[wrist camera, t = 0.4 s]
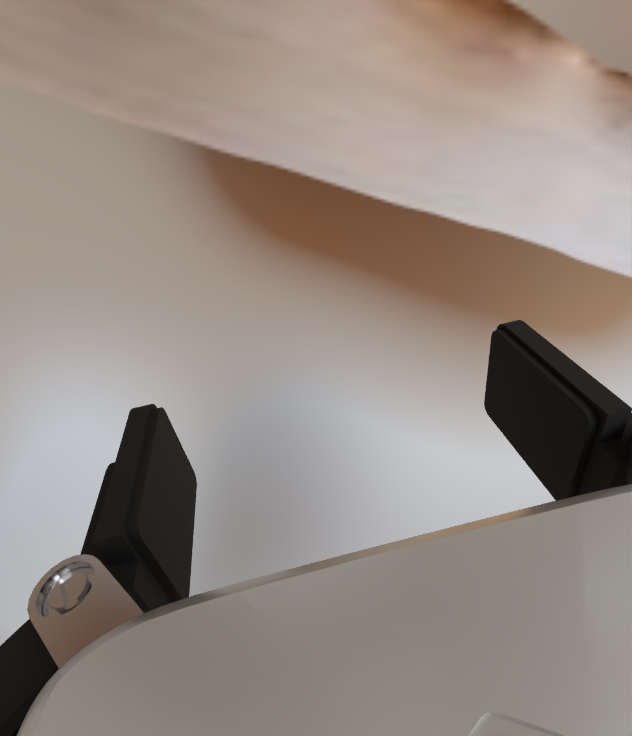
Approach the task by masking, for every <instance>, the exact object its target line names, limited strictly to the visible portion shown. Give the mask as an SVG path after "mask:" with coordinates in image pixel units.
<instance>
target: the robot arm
mask: <svg viewBox="0 0 632 736" xmlns="http://www.w3.org/2000/svg"><path fill="white" fill-rule="evenodd" d="M484 404H485V410H486V412H487V414H488V415H489V417H490V418H491V419H492V421H493V422H494V423H495V424H496V425H497V427H498V428H499V429H500V431H501V432H502V433H503V434H504V436H505V437H506V438H507V439H508V441H509V442H510V443H511V444H512V446H513V447H514V448H515V450H516V451H517V452H518V453H519V455H520V456H521V457H522V458H523V460H524V461H525V462H526V463H527V465H528V466H529V467H530V468H531V470H532V471H533V472H534V474H535V475H536V476H537V477H538V478H539V480H540V481H541V482H542V484H543V485H544V486H545V487H546V488H547V490H548V491H549V492H550V494H551V495H552V496H553V497H554V499H555V500H556V501H553V502H549V503H546V504H541V505H538V506H534V507H529V508H525V509H522V510H518V511H514V512H510V513H506V514H502V515H498V516H494V517H490V518H486V519H482V520H478V521H474V522H470V523H466V524H462V525H458V526H454V527H450V528H447V529H443V530H439V531H435V532H431V533H427V534H423V535H419V536H415V537H412V538H408V539H404V540H400V541H396V542H392V543H388V544H384V545H381V546H376V547H373V548H369V549H365V550H361V551H357V552H354V553H349V554H346V555H342V556H338V557H334V558H331V559H327V560H323V561H319V562H315V563H311V564H308V565H304V566H300V567H296V568H292V569H289V570H285V571H281V572H277V573H274V574H270V575H266V576H262V577H259V578H255V579H251V580H247V581H244V582H240V583H237V584H233V585H230V586H226V587H223V588H219V589H216V590H212V591H208V592H205V593H201V594H198V595H194V596H191V597H189V589H190V575H191V561H192V546H193V532H194V531H193V530H194V517H195V502H196V487H197V482H196V476H195V473H194V471H193V469H192V467H191V464H190V462H189V460H188V459H187V456H186V454H185V452H184V450H183V448H182V446H181V443H180V441H179V439H178V437H177V435H176V433H175V431H174V429H173V427H172V425H171V422H170V420H169V418H168V416H167V414H166V412H165V410H164V409H163V408H162V407H161V408H157V407H156V406H155V405H154V404H150V405H146V406H142V407H137V408H133V409H131V411H130V413H129V416H128V420H127V423H126V427H125V430H124V434H123V438H122V441H121V444H120V448H119V451H118V454H117V458H116V462H114V463H111V464H110V465H109V466H108V468H107V470H106V473H105V476H104V479H103V482H102V486H101V489H100V493H99V496H98V499H97V502H96V505H95V509H94V512H93V515H92V518H91V522H90V525H89V529H88V532H87V535H86V538H85V541H84V545H83V548H82V551H81V554H80V555H76V556H73V557H70V558H68V559H66V560H64V561H62V562H60V563H59V564H58V565H56V566H54V567H53V568H51V569H50V570H49V571H48V572H47V573H46V574H45V575H44V576H43V577H42V578H41V580H40V581H39V582H38V584H37V585H36V586H35V588H34V590H33V592H32V594H31V596H30V598H29V603H28V609H27V610H28V614H29V618H30V619H29V620H28V621H27V622H26V623H24V624H23V625H22V626H21V627H20V628H19V629H18V630H17V631H16V632H15V633H14V634H13V635H12V636H11V637H10V638H9V639H7V640H6V641H5V642H4V643H3V644H2V645H1V646H0V736H632V413H631V411H632V408H631V407H629V406H628V405H627V404H626V403H624V402H623V401H622V400H621V399H620V398H618V397H617V396H616V395H615V394H613V393H612V392H611V391H610V390H608V389H607V388H606V387H605V386H603V385H602V384H601V383H600V382H598V381H597V380H596V379H595V378H593V377H592V376H591V375H590V374H588V373H587V372H586V371H585V370H583V369H582V368H581V367H580V366H578V365H577V364H576V363H575V362H573V361H572V360H571V359H570V358H568V357H567V356H566V355H565V354H563V353H562V352H561V351H559V350H558V349H557V348H556V347H554V346H553V345H552V344H551V343H549V342H548V341H547V340H546V339H545V338H543V337H542V336H541V335H540V334H538V333H537V332H536V331H535V330H533V329H532V328H531V327H529V326H528V325H527V324H526V323H525V322H523V321H521V320H517V321H513V322H508V323H504V324H500V325H499V326H498V327H497V330H496V331H494V332H493V333H492V336H491V345H490V354H489V365H488V374H487V382H486V392H485V402H484Z"/></svg>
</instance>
